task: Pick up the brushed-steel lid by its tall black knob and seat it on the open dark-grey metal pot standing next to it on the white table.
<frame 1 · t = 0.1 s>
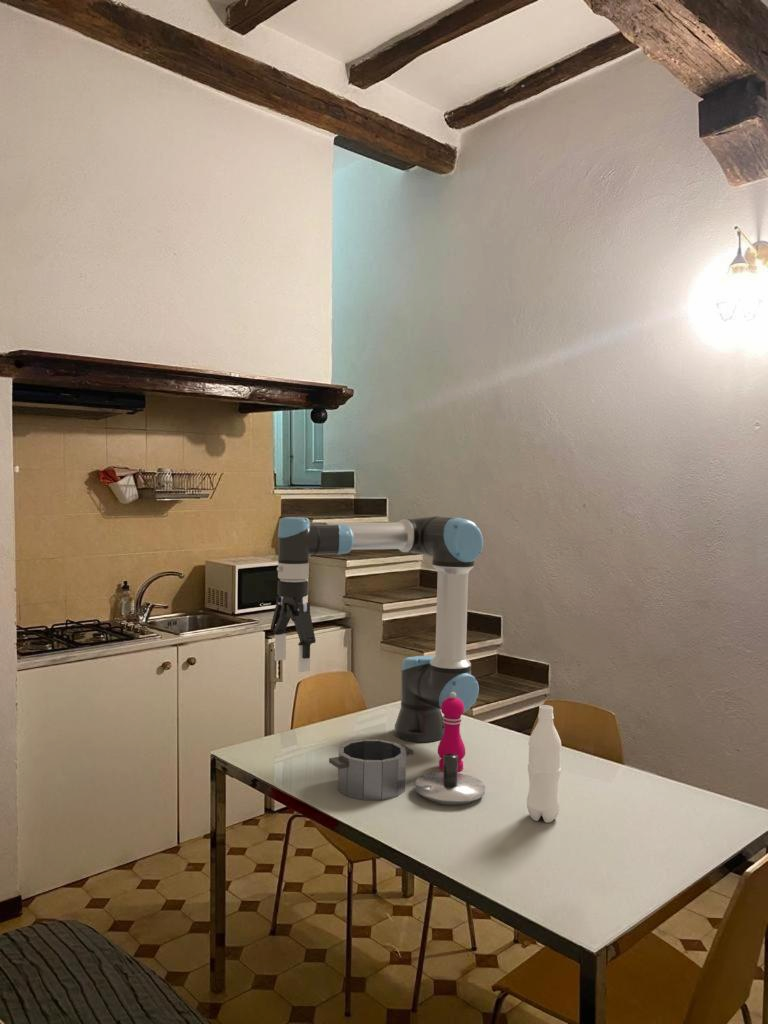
hand: (291, 665, 196), 28 cm above the table, fingers open, 13 cm apart
pot: (371, 786, 192), on the table
pepper mill: (451, 768, 207), on the table
lid: (449, 795, 189), on the table
water bottle: (542, 818, 177), on the table
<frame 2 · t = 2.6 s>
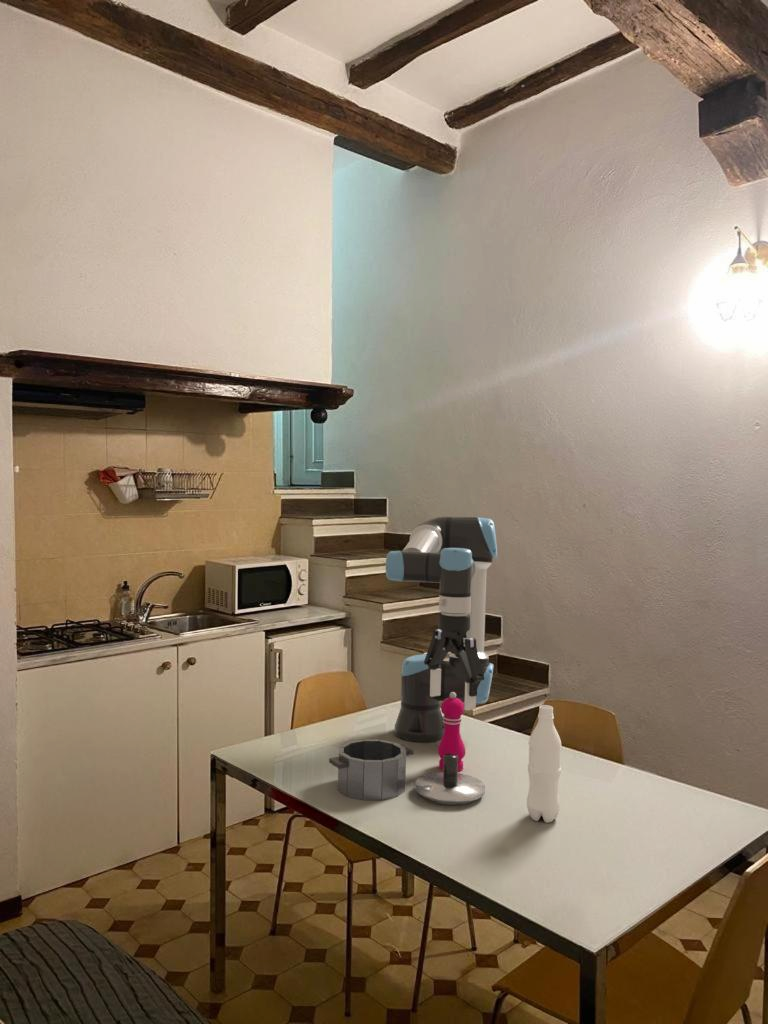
hand: (452, 702, 188), 22 cm above the table, fingers open, 13 cm apart
nothing on the table moved.
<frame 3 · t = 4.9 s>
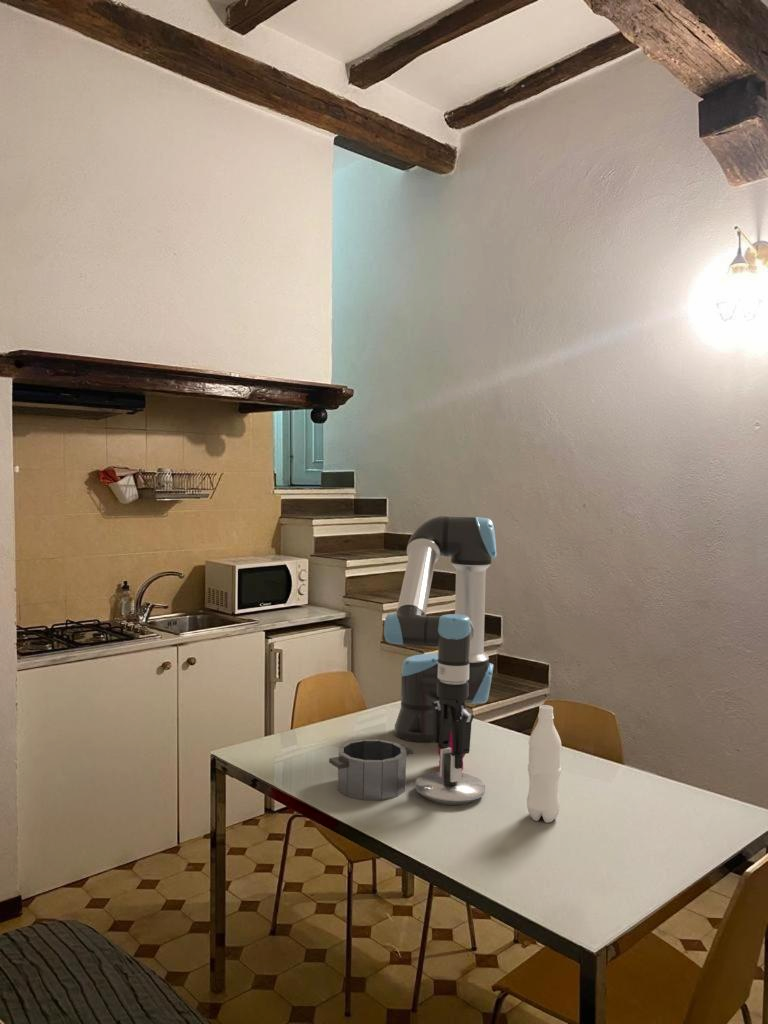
hand: (450, 777, 189), 4 cm above the table, fingers closed on lid, 3 cm apart
lid: (450, 794, 189), on the table, touching gripper
everything else where it was.
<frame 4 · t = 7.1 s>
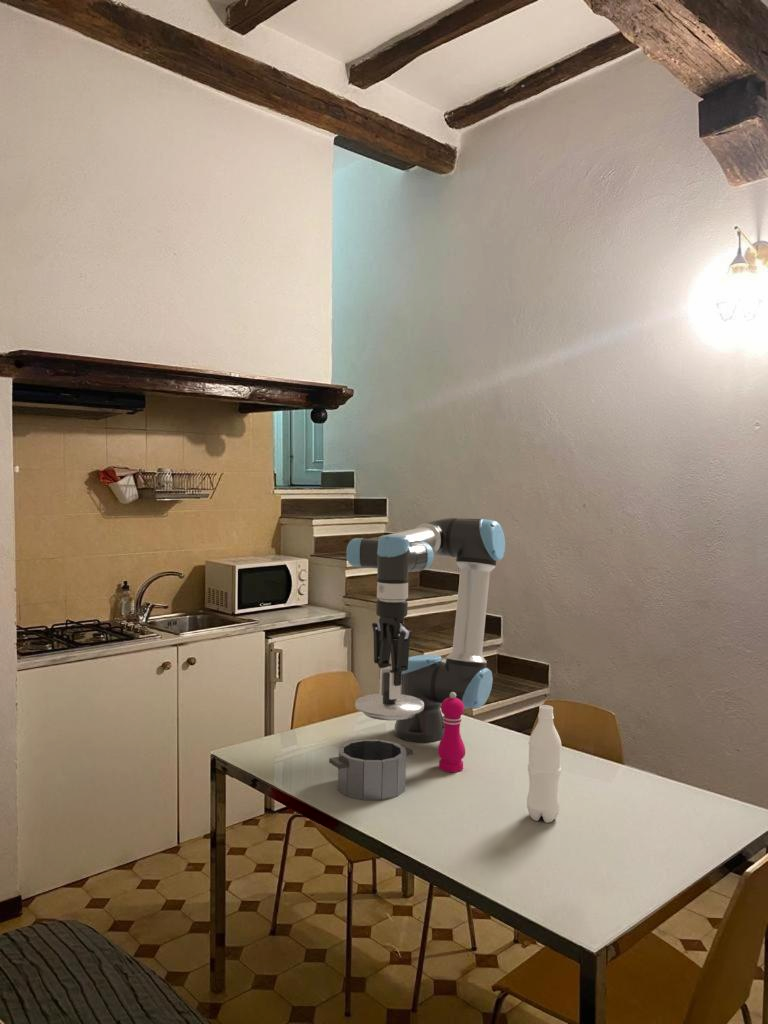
hand: (389, 696, 191), 23 cm above the table, fingers closed on lid, 3 cm apart
lid: (389, 712, 191), point 19 cm above the table, touching gripper
everything else where it was.
when the fingers open (13 cm above the table, at t = 9.4 s): lid drops 1 cm, resting on pot.
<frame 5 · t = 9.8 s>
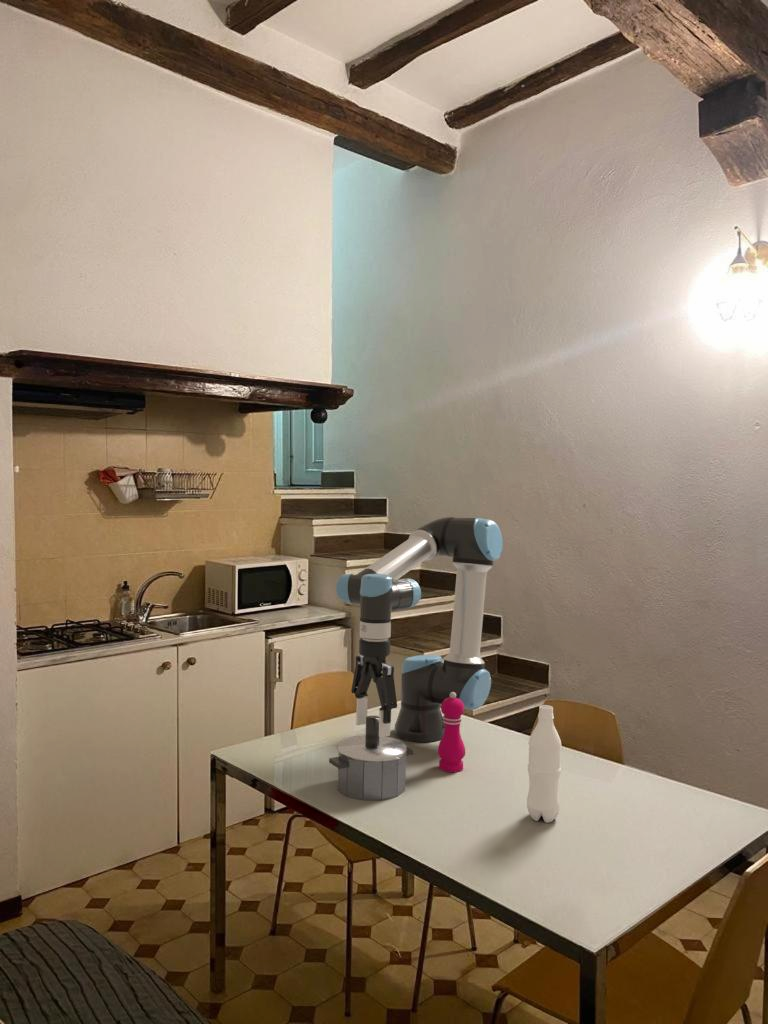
hand: (372, 729, 192), 14 cm above the table, fingers open, 10 cm apart
lid: (372, 756, 192), point 7 cm above the table, touching pot
everything else where it was.
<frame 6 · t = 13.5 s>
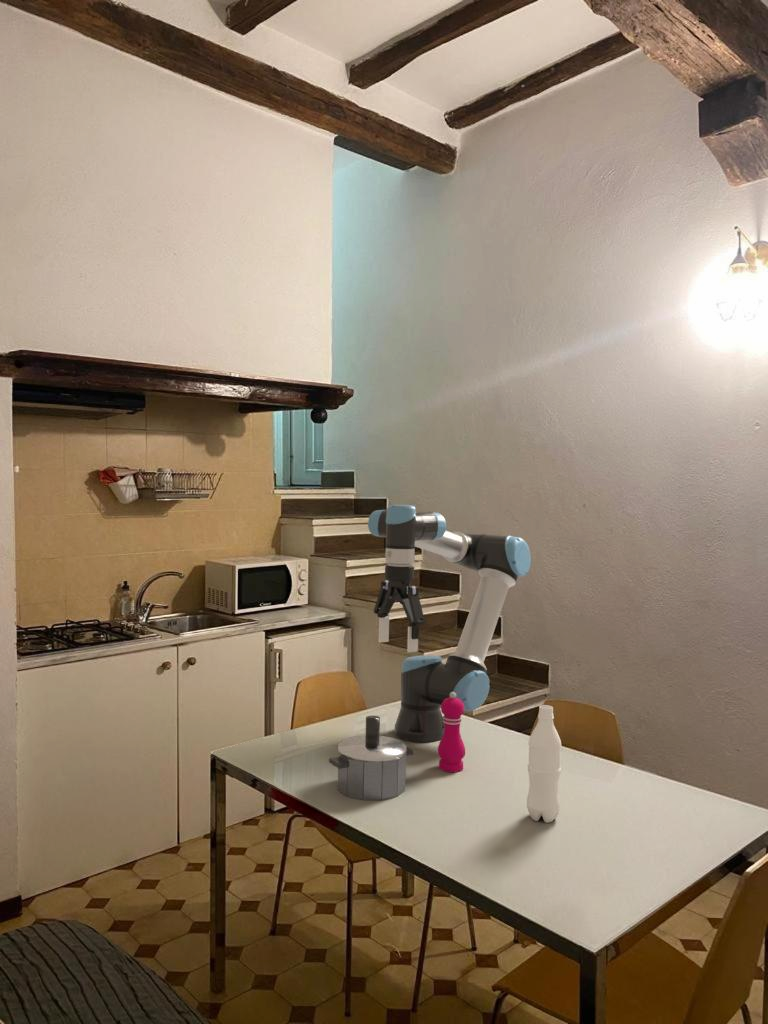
hand: (397, 646, 205), 32 cm above the table, fingers open, 13 cm apart
nothing on the table moved.
at the end: lid 0.0 cm off-centre on the pot, point 7.5 cm above the pot's base; lid tilted 0°; the gripper is holding nothing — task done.
